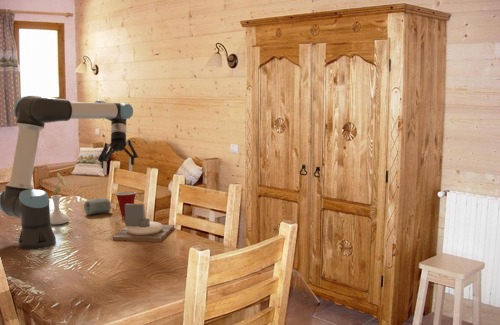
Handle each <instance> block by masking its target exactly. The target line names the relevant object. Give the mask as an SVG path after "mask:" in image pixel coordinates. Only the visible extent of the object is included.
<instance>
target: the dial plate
mask: <svg viewBox="0 0 500 325" xmlns="http://www.w3.org/2000/svg"><path fill="white" fill-rule="evenodd" d="M126 227H127V226H126V225H125V227H124V228H122V229H121V230H120V231H118V232H117V233H115V234H114V235H113V236H112V241H124V240H126V241H129V242H131V241H132V242H156V243H157V242H158V243H159V242H160V243H161V242H162V241H163V240H164V239H165V238H166V237H167V236H168V235H169V234H170V233H172V231H173V230H174V229H175V224H162V230H161V231H160V232H158V233H154V234H149V235H133V234H129V233H127V228H126Z"/></svg>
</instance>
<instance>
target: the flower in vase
mask: <svg viewBox="0 0 500 325" xmlns="http://www.w3.org/2000/svg"><path fill="white" fill-rule="evenodd" d="M56 176H57V179H58V180H59V181H58V183H57V185H56V188H55V189H54V190H53V192H52V193H53V194H55V195H51V196H50V198H51V199H52V201H53V208H54V209H53V211H52V213H50V225H61V224H65V223H67V222H69V221H70V217H69V216H68V215H67V214H66V213H64V212H62V211H61V210H60V200H61V197H62V195H60V194H57V193H61V188H60V187H58V186H59V184H61V185H62V186H63V187H67V186H68V185H67V184H68V183H67V182H66V179H65V178H64V177H63V175H61V173H60V172H57V173H56Z"/></svg>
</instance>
